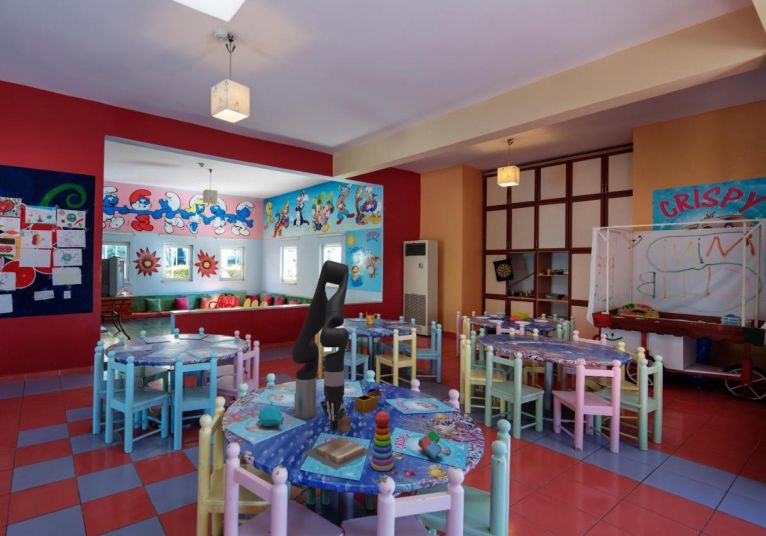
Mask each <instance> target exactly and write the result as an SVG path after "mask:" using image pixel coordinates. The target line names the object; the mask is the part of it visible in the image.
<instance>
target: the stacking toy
mask: <svg viewBox="0 0 766 536" xmlns="http://www.w3.org/2000/svg"><path fill="white" fill-rule="evenodd" d="M374 421H375V424H376V425H375V428H374V431H375V432H374V438H373V444H372V448H373V449H372V450H371V451H372V452H371V454H372V456H371V461H370V465H371V468H372V469H374V470H375V471H378V472H386V471H391V470H392V469H393V468H394V466H395V461H394V460H395V457H394V454H393V449H392V448H393V445H392V438H391V437H392V433H391V432H390V430H391V428H390V426H389V424H390V422H391V417H390V415H389V414H388V412H386V411H379V412H377V413H376V414H375V417H374Z"/></svg>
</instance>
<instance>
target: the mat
mask: <svg viewBox="0 0 766 536" xmlns="http://www.w3.org/2000/svg"><path fill="white" fill-rule="evenodd" d="M339 438H341V437H340V436H339V437H338V438H335V439H333V440H329V441H328V442H325V443H322V444H320V445H318V446H316V447H313V448H311V449H309V450H306V451H304V452H302V454H304V455H306V456H307V457H310V458H312V459H314V460H316V461H317V462H320V463H322V464H324V465H325V466H327V467H330V468H332V469H333V470H339V469H341V468H343V467H345V466H346V465H349V464H351V463H353V462H355V461H357V460H359V459H361V458H363V457H365V456H367V455H369V454H372V450H371V449H368V448H366V447H364V453H362V454H360V455H358V456H356V457H354V458H352V459H350V460H348V461H346V462H343V463H341V464H337V463H335V462H333V461H331V460H329V459H327V458H325V457H323V456H321V455H319V454H317V448H318V447H320V446H323V445H325V444H327V443H330V442H332V441H334V440H337V439H339Z"/></svg>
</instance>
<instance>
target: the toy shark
mask: <svg viewBox="0 0 766 536" xmlns="http://www.w3.org/2000/svg"><path fill="white" fill-rule="evenodd" d="M257 416H258V420H259V423H258V426H261V424H262V425H263V426H266V427H273V426H275V425H277V424H279V425H281V426H282V427H284V420H285V417H283V414H282V412H281V411H280V410H279V409H278V408H277V407H276V406H275V405H274V404H273V401H270V404H268V405H266V407H265V406H264V407H260V408H259V410H258V412H257ZM272 425H273V426H272Z"/></svg>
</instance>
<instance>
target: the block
mask: <svg viewBox="0 0 766 536" xmlns="http://www.w3.org/2000/svg"><path fill="white" fill-rule="evenodd" d="M351 418H352V417H351V416H348V415H346V414H345V415H344V416H343V418H342V419H339V420H338V429H337V430H336V431H337V432H339V433H342V434H345V433H347V432H350V431H351V425H352V423H351V422H352V420H351Z"/></svg>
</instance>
